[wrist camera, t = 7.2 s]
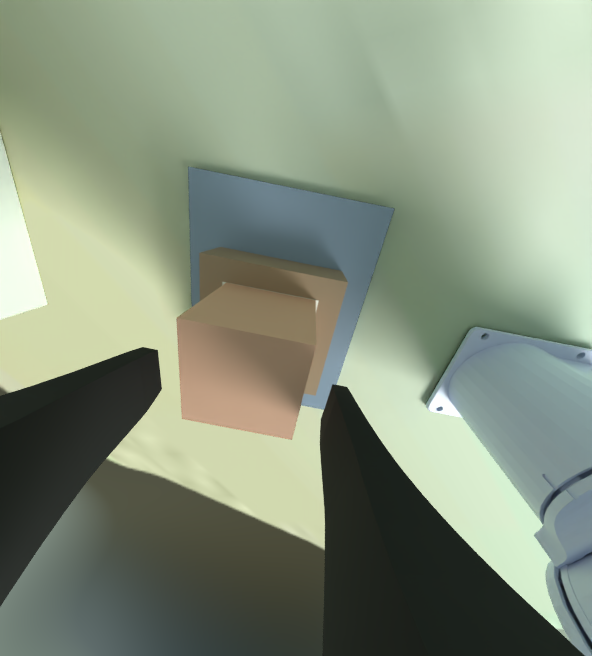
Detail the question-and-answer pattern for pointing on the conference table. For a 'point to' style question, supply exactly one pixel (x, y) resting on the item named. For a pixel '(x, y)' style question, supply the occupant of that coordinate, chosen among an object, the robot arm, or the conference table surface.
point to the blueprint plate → (288, 255)
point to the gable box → (16, 251)
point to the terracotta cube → (246, 359)
